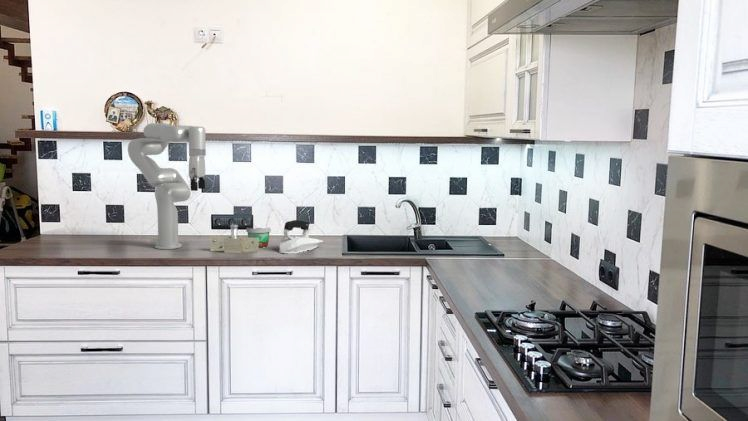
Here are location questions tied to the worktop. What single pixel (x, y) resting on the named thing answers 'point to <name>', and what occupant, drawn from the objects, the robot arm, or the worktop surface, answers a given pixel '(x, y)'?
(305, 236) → the iron
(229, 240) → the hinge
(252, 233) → the food container
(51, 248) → the worktop surface
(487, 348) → the worktop surface
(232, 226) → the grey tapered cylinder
